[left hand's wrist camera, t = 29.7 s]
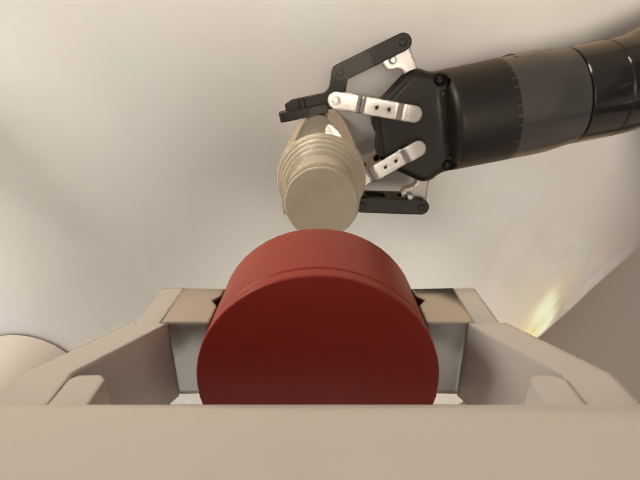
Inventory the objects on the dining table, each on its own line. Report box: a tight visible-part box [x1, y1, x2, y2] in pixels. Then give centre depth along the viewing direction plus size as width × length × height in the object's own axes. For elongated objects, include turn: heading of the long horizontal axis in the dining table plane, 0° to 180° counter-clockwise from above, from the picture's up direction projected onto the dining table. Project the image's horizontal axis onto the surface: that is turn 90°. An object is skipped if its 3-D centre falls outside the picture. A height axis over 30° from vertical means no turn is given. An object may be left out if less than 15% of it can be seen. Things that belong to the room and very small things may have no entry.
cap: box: [196, 229, 439, 405], centre depth 9 cm, size 5×5×2 cm
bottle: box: [277, 109, 366, 231], centre depth 29 cm, size 5×5×22 cm
